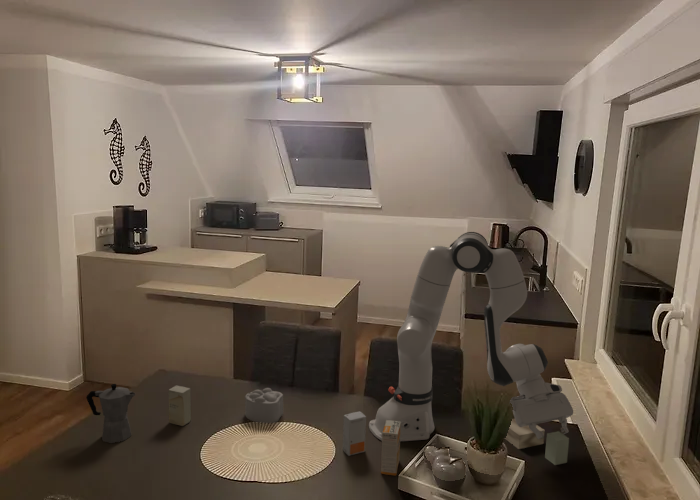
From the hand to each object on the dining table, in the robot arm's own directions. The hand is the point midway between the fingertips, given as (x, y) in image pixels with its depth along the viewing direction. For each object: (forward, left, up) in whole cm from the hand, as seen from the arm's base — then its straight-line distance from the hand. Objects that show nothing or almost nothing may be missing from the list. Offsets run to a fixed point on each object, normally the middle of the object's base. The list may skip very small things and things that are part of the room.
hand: (553, 435), depth 166 cm
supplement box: (-50, +11, -7) cm, 52 cm away
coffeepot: (-128, +57, -7) cm, 141 cm away
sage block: (0, -2, -7) cm, 7 cm away
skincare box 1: (-107, +60, -7) cm, 123 cm away
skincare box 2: (-57, +23, -7) cm, 62 cm away
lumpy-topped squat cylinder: (-79, +56, -7) cm, 97 cm away
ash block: (-2, +12, -7) cm, 14 cm away
